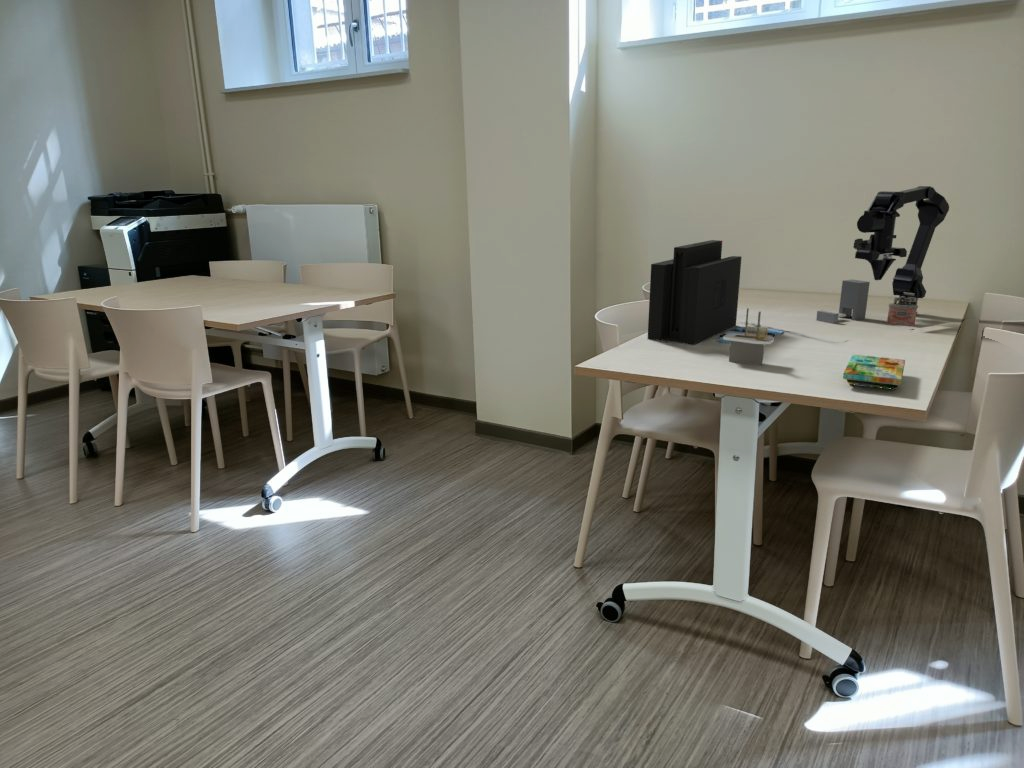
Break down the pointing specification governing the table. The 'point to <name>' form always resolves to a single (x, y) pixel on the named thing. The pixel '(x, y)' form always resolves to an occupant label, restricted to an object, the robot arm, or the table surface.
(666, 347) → the table surface
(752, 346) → the architectural model
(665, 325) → the game console
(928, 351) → the table surface
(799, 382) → the table surface
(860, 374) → the puzzle game
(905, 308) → the lighter
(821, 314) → the header
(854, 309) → the plug
